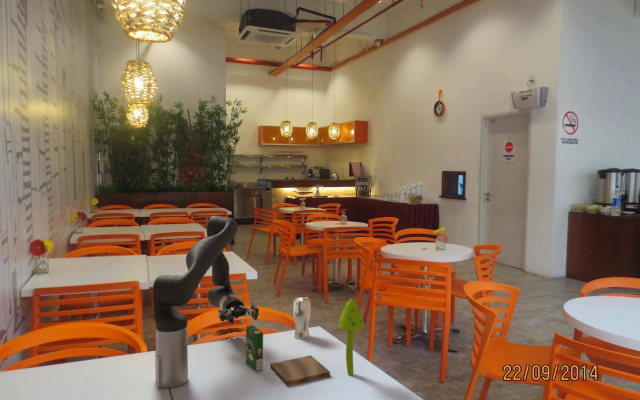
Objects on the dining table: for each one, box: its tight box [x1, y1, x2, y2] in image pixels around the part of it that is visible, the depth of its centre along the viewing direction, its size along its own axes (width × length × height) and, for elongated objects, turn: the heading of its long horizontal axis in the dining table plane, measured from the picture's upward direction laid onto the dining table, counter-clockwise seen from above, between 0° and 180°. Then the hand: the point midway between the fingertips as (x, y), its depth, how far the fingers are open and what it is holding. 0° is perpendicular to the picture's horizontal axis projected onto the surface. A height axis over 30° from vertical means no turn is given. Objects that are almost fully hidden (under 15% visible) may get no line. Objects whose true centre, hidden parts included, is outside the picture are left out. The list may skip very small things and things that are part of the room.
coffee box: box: [245, 324, 264, 373], centre depth 145 cm, size 8×3×13 cm, turn 33°
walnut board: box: [269, 355, 331, 387], centre depth 142 cm, size 15×14×2 cm
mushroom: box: [337, 298, 365, 377], centre depth 140 cm, size 8×8×25 cm
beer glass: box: [292, 296, 312, 340], centre depth 173 cm, size 7×7×15 cm
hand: (244, 319), depth 155 cm, fingers open, 8 cm apart
